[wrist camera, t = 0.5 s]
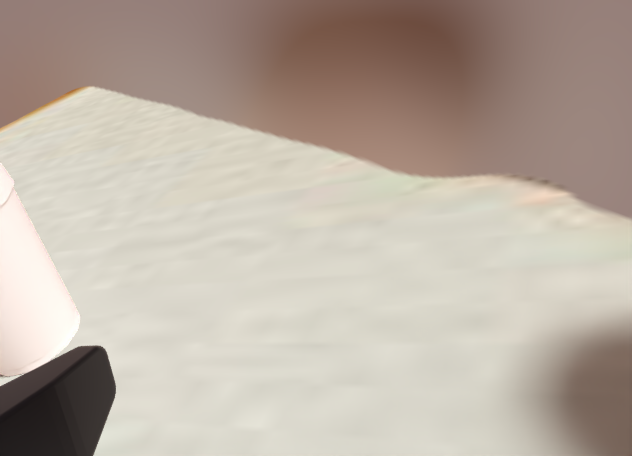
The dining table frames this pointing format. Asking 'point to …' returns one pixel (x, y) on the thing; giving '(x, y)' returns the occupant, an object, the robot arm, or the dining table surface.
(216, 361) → the dining table surface
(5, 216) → the foam cup
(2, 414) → the robot arm
